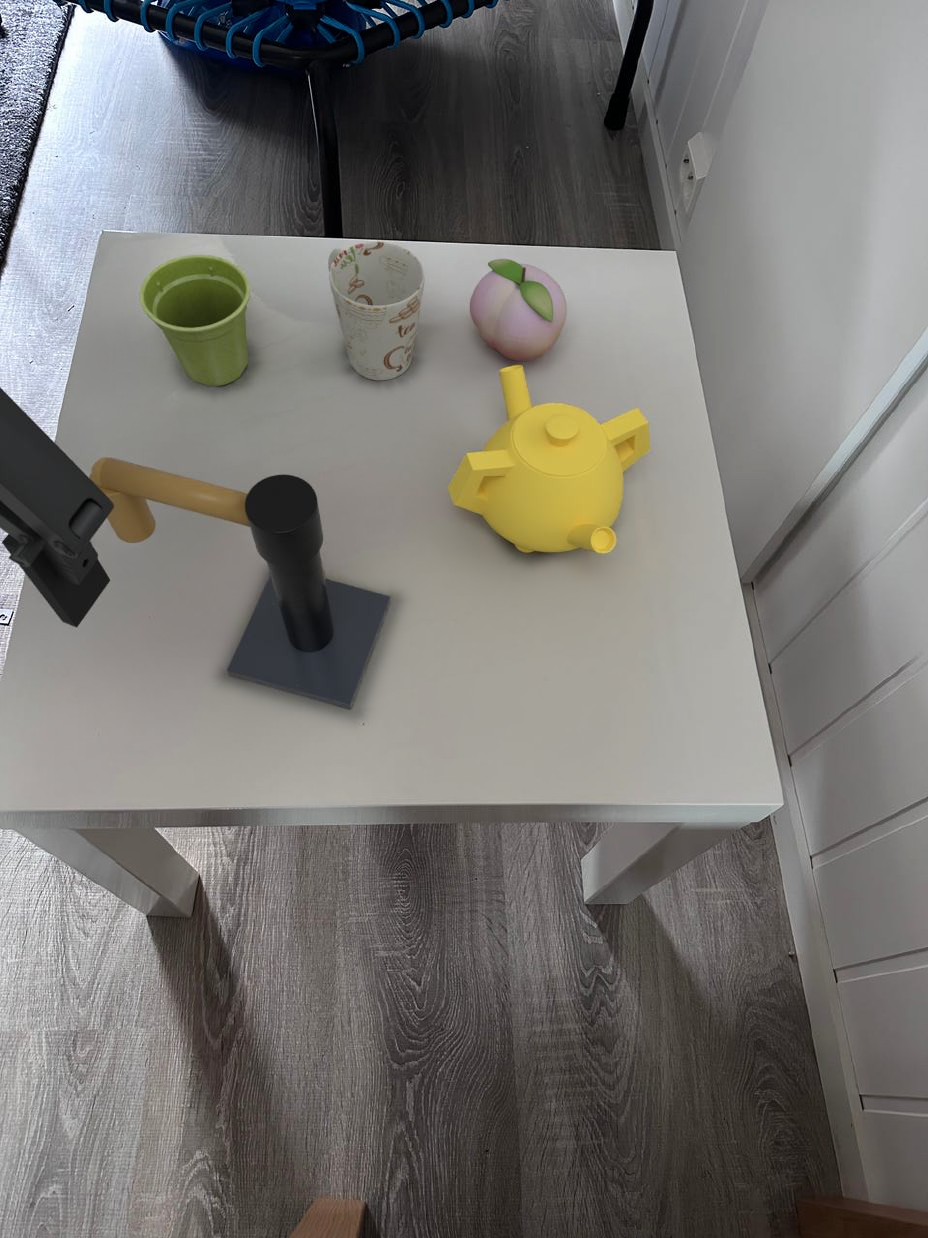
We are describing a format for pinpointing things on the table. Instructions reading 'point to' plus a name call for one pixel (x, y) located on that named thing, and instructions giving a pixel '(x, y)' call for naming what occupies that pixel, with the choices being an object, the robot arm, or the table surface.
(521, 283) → the decorative fruit
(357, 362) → the mug
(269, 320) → the table surface
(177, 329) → the plant pot
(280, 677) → the square base plate
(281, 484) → the spout
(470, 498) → the teapot
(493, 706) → the table surface
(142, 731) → the table surface
